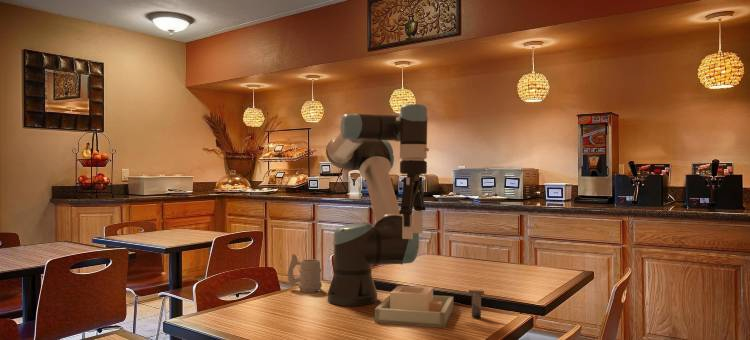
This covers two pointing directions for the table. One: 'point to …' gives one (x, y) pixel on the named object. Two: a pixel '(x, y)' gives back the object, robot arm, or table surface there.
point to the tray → (415, 314)
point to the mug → (306, 274)
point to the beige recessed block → (414, 299)
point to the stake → (476, 303)
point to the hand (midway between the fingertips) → (412, 235)
